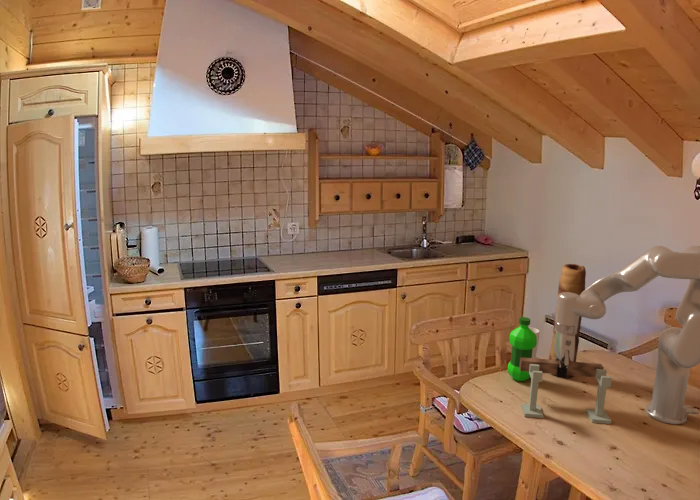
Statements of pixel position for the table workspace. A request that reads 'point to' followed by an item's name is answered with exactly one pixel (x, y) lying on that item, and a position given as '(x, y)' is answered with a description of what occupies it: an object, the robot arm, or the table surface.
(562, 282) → the wafer roll
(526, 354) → the plastic bottle
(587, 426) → the table surface
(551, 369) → the walnut rail
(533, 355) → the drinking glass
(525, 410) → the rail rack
